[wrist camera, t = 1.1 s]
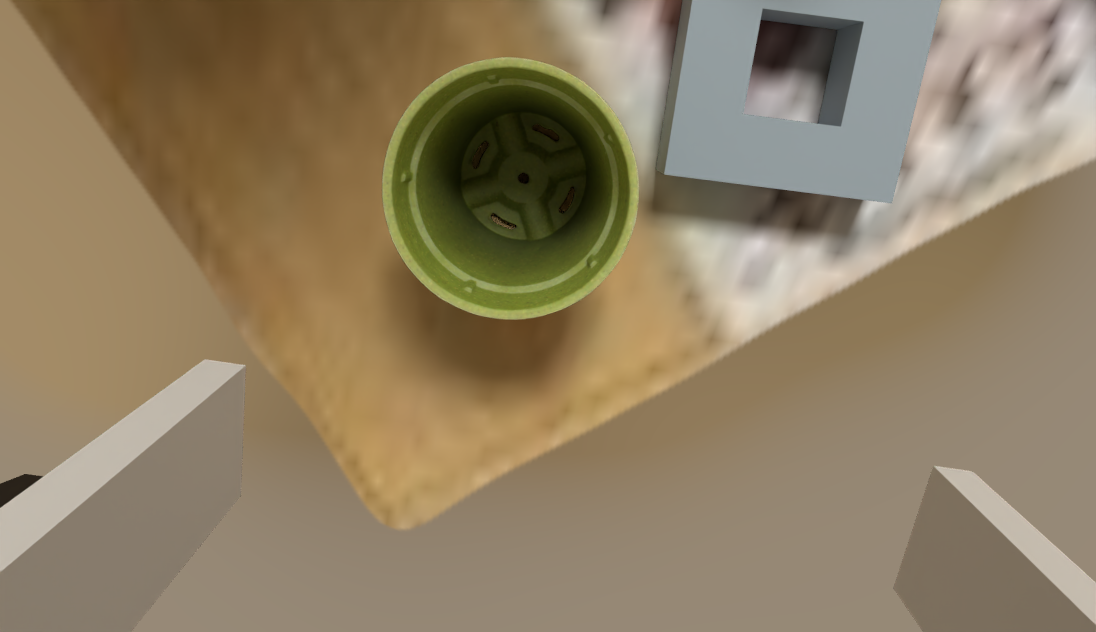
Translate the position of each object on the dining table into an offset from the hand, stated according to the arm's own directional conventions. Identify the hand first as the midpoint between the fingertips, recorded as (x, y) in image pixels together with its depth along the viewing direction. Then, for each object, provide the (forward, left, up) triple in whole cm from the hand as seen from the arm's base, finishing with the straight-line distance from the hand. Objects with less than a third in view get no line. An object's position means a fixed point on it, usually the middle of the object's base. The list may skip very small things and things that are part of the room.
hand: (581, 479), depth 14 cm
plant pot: (-4, -3, -23) cm, 24 cm away
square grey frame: (-10, +9, -23) cm, 26 cm away
